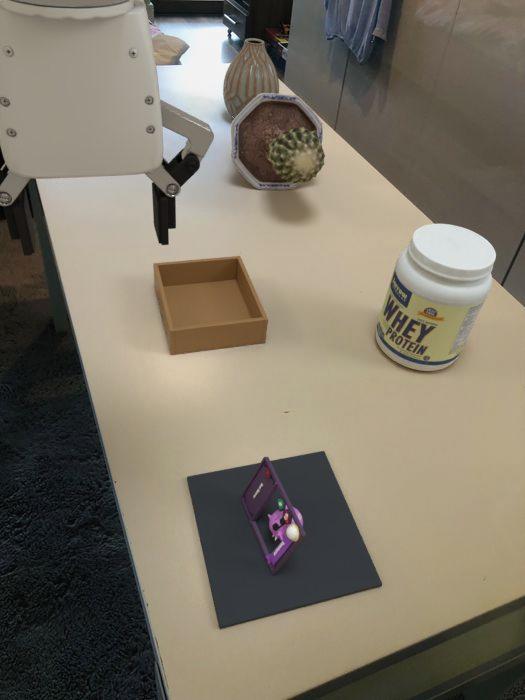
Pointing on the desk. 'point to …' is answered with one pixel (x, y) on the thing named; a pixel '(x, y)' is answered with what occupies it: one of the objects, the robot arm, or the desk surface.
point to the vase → (249, 76)
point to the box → (208, 304)
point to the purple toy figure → (282, 521)
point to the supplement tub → (435, 296)
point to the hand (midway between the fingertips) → (97, 240)
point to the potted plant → (277, 142)
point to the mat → (305, 562)
